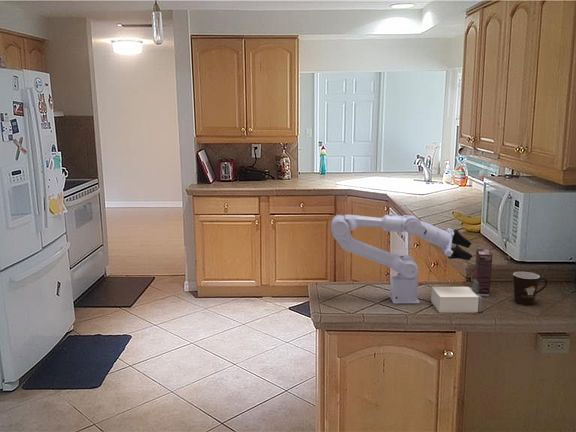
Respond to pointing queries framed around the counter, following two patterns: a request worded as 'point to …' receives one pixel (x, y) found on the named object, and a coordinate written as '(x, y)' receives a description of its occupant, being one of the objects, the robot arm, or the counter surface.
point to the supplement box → (483, 271)
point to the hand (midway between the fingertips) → (470, 251)
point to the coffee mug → (526, 287)
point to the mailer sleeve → (454, 299)
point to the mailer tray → (476, 289)
